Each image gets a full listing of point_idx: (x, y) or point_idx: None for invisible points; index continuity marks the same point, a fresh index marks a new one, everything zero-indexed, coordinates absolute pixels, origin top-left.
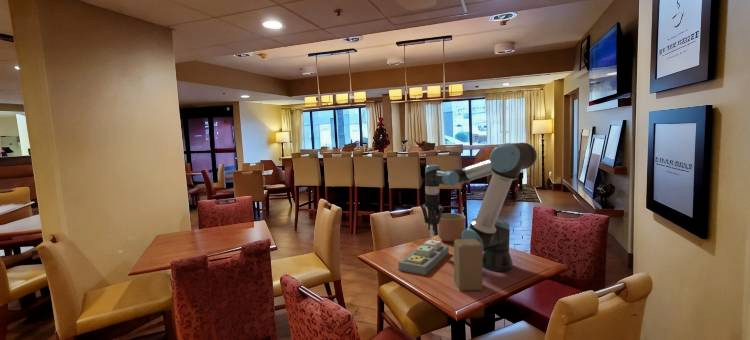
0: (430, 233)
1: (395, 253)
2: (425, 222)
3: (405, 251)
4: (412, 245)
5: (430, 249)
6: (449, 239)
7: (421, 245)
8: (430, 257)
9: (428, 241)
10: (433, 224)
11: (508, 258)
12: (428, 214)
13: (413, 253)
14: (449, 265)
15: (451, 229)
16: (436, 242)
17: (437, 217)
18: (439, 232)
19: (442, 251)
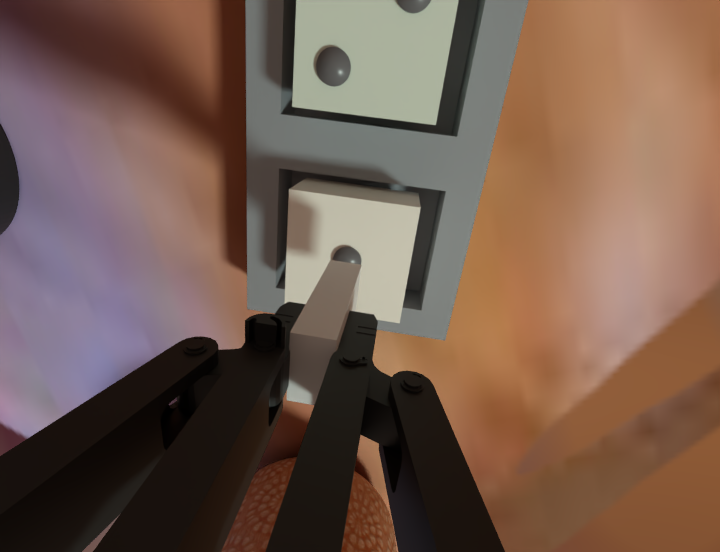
0: (349, 278)
1: (675, 160)
2: (422, 378)
3: (586, 235)
4: (546, 371)
5: (300, 4)
6: None
7: (432, 119)
8: (348, 117)
9: (390, 271)
10: (258, 322)
11: None
12: (329, 534)
13: (495, 3)
14: (176, 29)
15: (263, 527)
16: (311, 264)
17: (99, 434)
18: (371, 519)
19: (247, 169)
